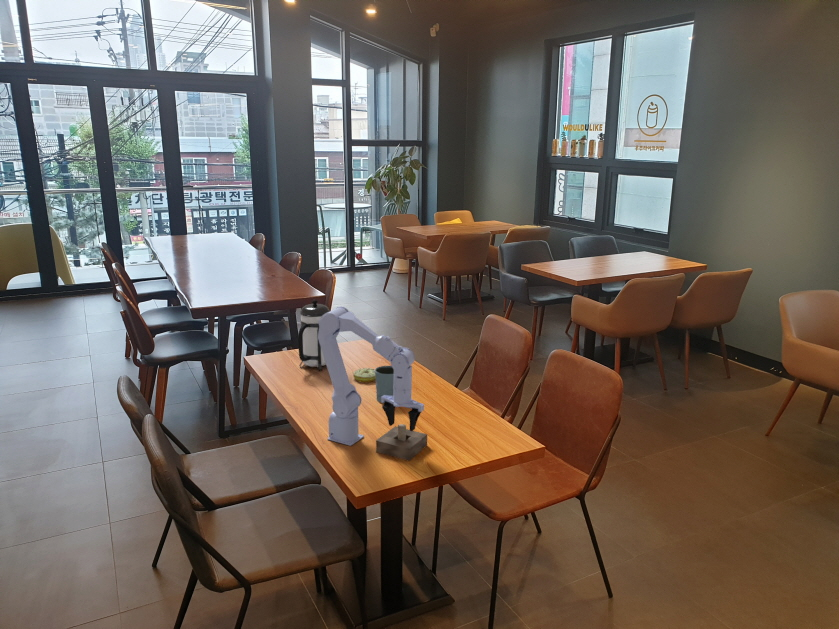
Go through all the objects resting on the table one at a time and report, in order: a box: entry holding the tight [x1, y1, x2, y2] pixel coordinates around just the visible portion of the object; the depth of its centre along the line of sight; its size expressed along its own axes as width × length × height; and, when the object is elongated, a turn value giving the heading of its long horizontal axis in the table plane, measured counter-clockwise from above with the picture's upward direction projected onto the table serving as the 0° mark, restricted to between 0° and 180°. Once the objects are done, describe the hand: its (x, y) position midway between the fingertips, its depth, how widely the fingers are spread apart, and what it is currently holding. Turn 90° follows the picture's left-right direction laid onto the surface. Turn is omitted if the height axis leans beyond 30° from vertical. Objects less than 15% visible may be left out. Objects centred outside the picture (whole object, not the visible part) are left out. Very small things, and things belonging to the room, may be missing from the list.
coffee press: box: [297, 299, 331, 372], centre depth 272 cm, size 17×16×30 cm
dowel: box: [397, 423, 407, 441], centre depth 202 cm, size 3×3×8 cm
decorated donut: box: [353, 367, 376, 384], centre depth 263 cm, size 10×11×4 cm
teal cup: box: [374, 365, 394, 404], centre depth 241 cm, size 10×10×12 cm
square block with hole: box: [375, 425, 428, 462], centre depth 203 cm, size 12×12×4 cm
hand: (401, 427), depth 201 cm, fingers open, 7 cm apart
